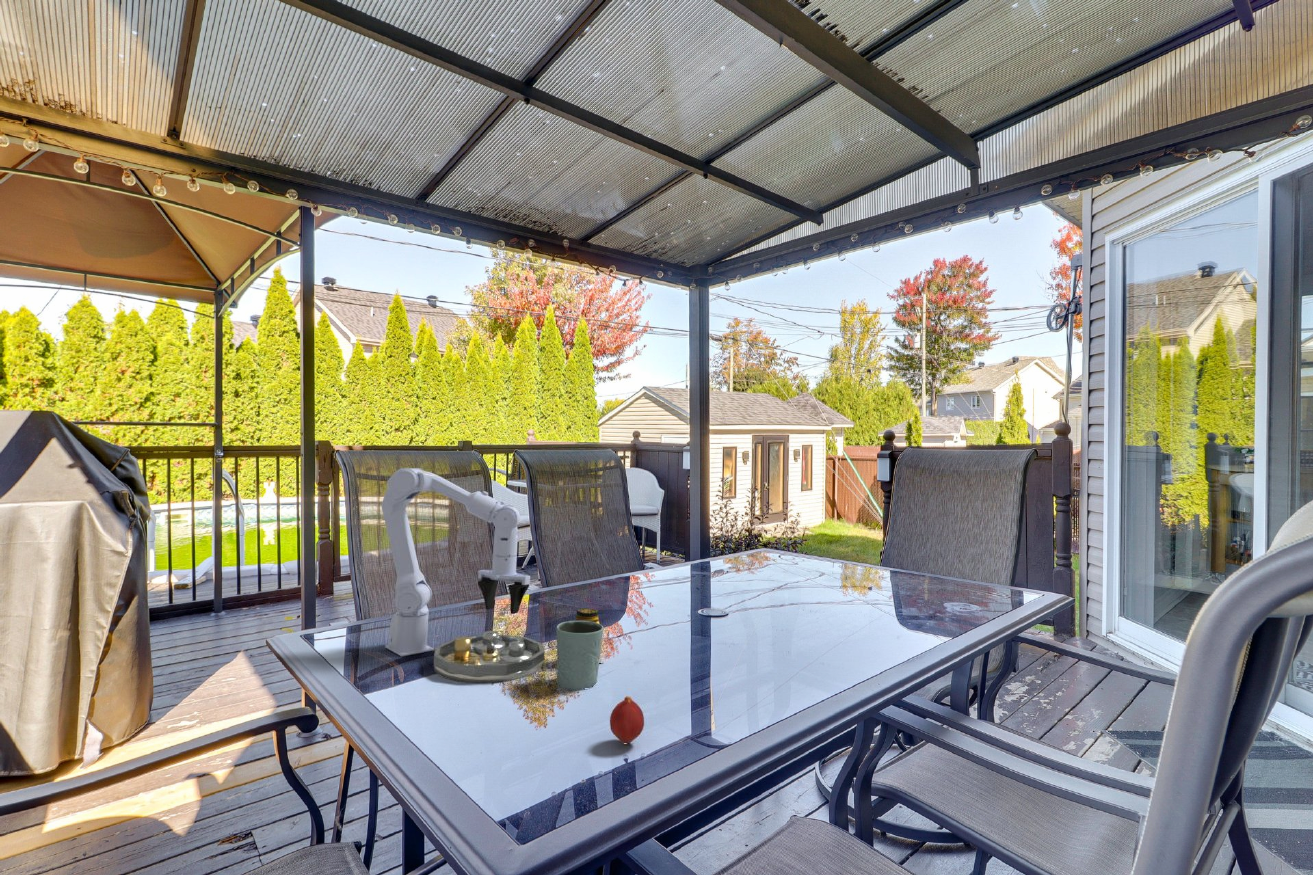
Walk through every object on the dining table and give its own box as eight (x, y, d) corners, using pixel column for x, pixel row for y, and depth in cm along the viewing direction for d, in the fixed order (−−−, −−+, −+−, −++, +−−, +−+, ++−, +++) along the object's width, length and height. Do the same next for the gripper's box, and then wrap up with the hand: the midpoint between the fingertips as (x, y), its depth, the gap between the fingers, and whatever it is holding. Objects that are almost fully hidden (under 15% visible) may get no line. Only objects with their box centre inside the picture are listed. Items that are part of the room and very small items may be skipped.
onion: (608, 736, 108) (610, 688, 108) (642, 736, 108) (644, 689, 108) (609, 751, 102) (611, 701, 102) (644, 751, 102) (646, 701, 103)
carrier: (415, 661, 142) (416, 637, 143) (506, 643, 160) (507, 621, 160) (468, 691, 126) (469, 663, 126) (563, 667, 143) (565, 643, 143)
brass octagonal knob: (439, 662, 138) (441, 637, 138) (469, 657, 143) (470, 632, 143) (453, 671, 133) (454, 645, 133) (483, 665, 137) (485, 640, 138)
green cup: (581, 672, 140) (584, 618, 141) (611, 684, 133) (613, 627, 134) (544, 681, 133) (546, 624, 134) (572, 695, 126) (575, 635, 126)
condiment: (604, 663, 147) (606, 612, 148) (571, 668, 142) (574, 615, 143) (590, 655, 153) (592, 605, 154) (558, 659, 149) (561, 608, 149)
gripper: (470, 554, 153) (467, 609, 152) (518, 560, 147) (515, 618, 146) (490, 551, 159) (487, 604, 159) (536, 556, 153) (533, 612, 153)
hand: (501, 610), depth 153 cm, fingers open, 7 cm apart
